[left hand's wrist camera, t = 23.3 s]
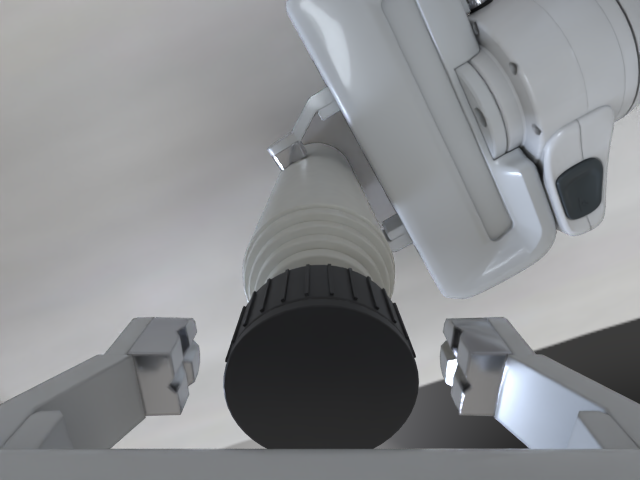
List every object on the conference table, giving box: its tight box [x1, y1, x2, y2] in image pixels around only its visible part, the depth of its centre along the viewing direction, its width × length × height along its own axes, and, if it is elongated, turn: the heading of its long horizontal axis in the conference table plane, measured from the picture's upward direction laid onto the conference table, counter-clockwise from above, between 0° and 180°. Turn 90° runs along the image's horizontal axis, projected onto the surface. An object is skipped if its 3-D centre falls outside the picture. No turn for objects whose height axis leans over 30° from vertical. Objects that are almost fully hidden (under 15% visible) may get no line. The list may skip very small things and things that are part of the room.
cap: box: [223, 264, 419, 449], centre depth 9 cm, size 4×4×2 cm
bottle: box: [243, 143, 395, 302], centre depth 19 cm, size 5×5×21 cm
